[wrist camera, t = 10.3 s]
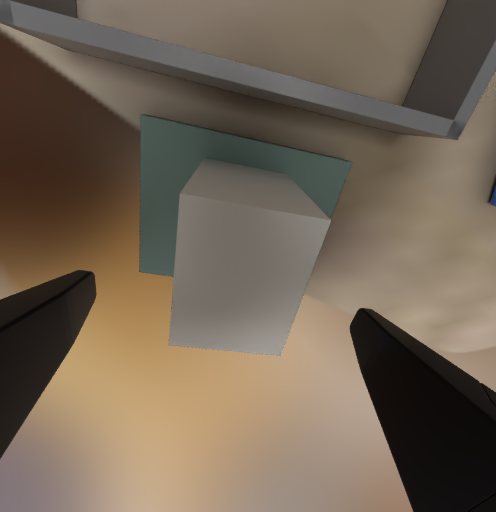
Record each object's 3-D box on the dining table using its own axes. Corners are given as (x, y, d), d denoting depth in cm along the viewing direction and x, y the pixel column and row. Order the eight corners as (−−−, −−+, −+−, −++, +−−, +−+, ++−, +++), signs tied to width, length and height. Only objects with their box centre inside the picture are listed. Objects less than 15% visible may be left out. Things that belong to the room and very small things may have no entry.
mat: (345, 159, 14) (352, 162, 14) (298, 286, 19) (301, 294, 18) (146, 114, 13) (140, 114, 12) (144, 263, 17) (139, 272, 16)
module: (287, 174, 14) (331, 220, 8) (262, 267, 17) (280, 355, 10) (204, 157, 13) (179, 193, 7) (193, 257, 16) (168, 345, 10)
